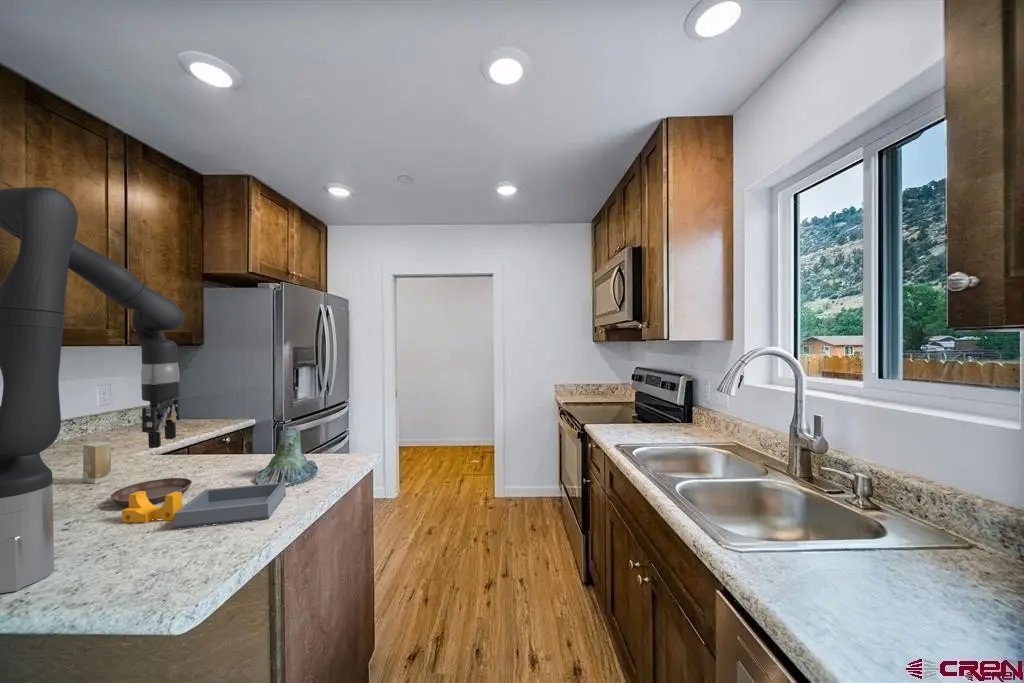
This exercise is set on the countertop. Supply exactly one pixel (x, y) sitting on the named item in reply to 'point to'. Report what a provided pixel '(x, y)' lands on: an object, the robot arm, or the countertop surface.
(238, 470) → the countertop surface
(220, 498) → the tray
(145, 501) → the pipe clamp
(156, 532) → the countertop surface
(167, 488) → the plant saucer
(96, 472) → the skincare box
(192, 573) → the countertop surface
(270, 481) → the tree stump
